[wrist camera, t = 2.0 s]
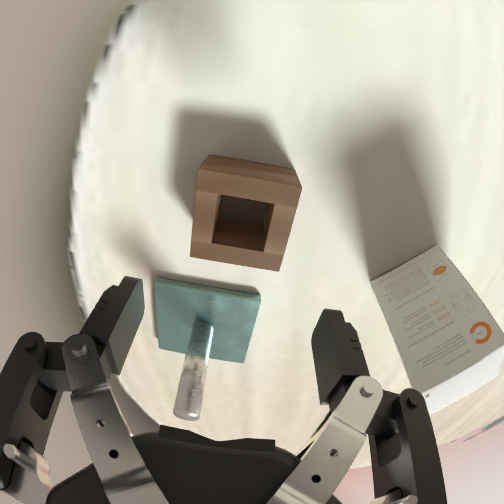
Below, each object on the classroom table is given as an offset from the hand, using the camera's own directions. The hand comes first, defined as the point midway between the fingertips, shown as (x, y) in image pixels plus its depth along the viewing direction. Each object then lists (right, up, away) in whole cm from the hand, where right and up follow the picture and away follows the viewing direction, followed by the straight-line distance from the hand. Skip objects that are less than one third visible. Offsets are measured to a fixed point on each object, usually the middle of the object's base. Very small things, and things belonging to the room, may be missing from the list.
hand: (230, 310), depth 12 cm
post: (-4, -5, +17) cm, 18 cm away
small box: (+17, -1, +14) cm, 22 cm away
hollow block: (0, +6, +10) cm, 12 cm away
